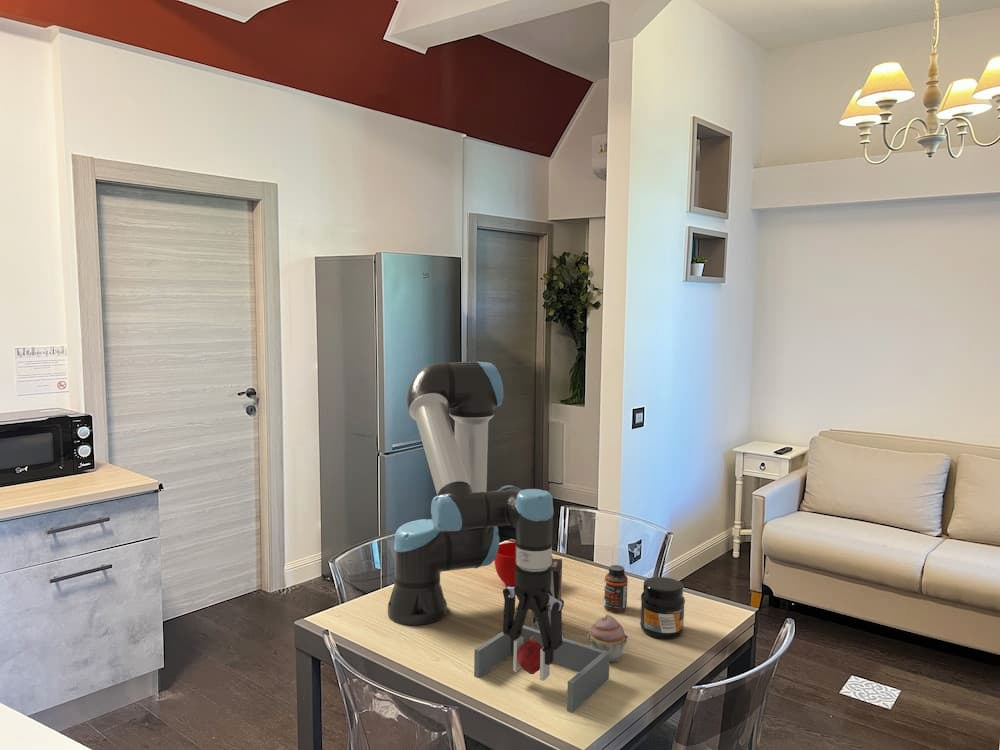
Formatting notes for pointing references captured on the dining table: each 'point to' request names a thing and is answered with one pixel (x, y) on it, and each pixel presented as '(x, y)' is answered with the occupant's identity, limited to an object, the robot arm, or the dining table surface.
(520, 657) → the onion
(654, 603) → the supplement container
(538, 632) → the open u-shaped frame
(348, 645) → the dining table surface
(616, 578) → the supplement bottle
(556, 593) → the coffee box
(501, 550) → the ceramic cup
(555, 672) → the dining table surface
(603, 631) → the cupcake
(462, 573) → the dining table surface
